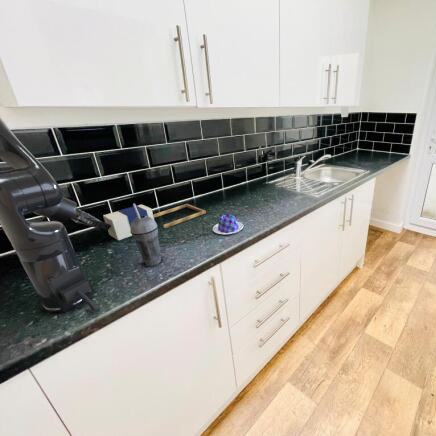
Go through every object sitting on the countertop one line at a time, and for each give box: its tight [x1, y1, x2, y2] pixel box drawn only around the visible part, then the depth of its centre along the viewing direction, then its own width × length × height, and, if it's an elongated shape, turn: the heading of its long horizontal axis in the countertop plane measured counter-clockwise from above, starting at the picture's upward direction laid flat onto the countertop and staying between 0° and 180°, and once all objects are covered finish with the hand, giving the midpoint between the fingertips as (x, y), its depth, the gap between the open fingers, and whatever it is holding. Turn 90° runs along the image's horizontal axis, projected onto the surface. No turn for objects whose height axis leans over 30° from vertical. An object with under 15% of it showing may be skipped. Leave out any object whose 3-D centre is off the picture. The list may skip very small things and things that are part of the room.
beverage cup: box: [130, 203, 162, 267], centre depth 77 cm, size 7×7×20 cm
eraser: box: [102, 204, 155, 241], centre depth 99 cm, size 14×8×8 cm, turn 143°
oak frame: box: [153, 203, 207, 229], centre depth 113 cm, size 20×15×1 cm
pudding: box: [212, 213, 245, 235], centre depth 101 cm, size 12×12×5 cm
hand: (108, 227), depth 93 cm, fingers closed
